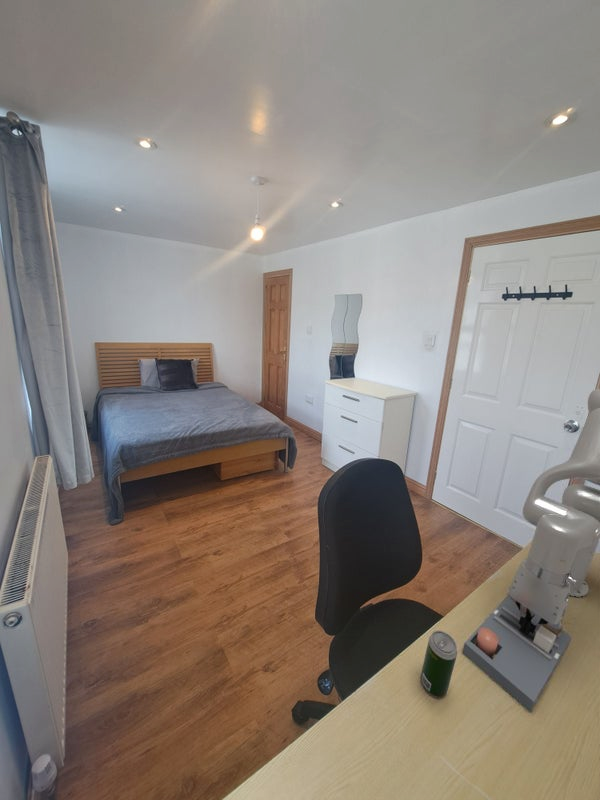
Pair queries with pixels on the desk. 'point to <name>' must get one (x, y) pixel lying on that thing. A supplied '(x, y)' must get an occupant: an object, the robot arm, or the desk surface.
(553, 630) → the rocker
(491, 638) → the push button
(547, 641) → the slider knob
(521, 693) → the console
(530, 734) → the desk surface
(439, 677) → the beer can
